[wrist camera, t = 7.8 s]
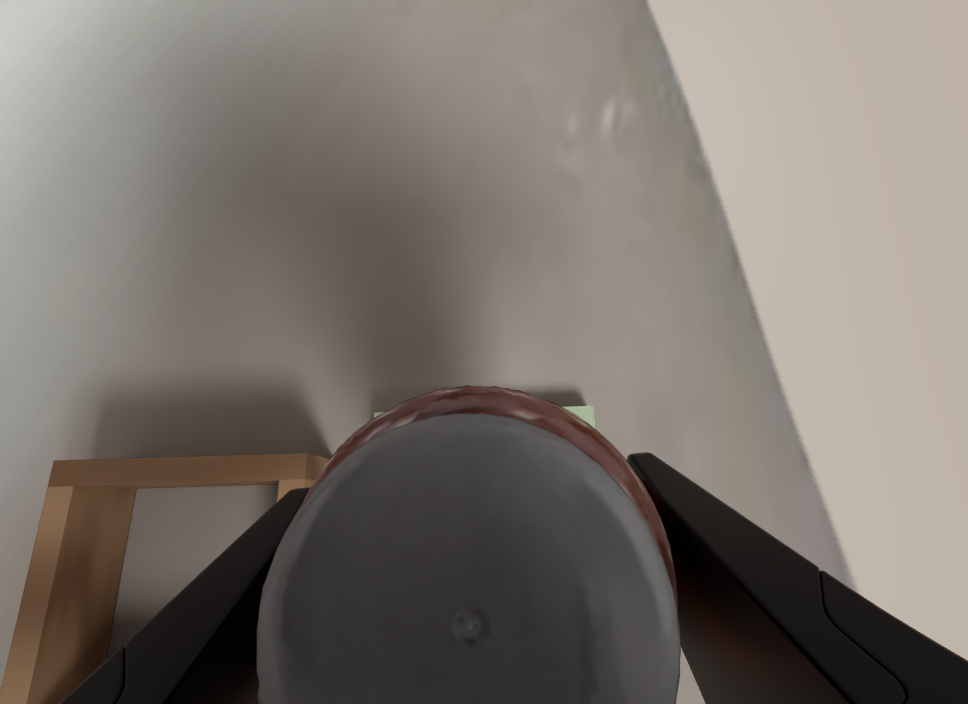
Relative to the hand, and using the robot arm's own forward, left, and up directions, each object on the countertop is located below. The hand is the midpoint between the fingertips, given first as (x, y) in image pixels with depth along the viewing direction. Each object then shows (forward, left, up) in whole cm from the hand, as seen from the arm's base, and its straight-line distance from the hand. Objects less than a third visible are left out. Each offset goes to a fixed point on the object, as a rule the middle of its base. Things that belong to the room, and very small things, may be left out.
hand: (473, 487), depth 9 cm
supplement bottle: (-1, 0, -7) cm, 7 cm away
